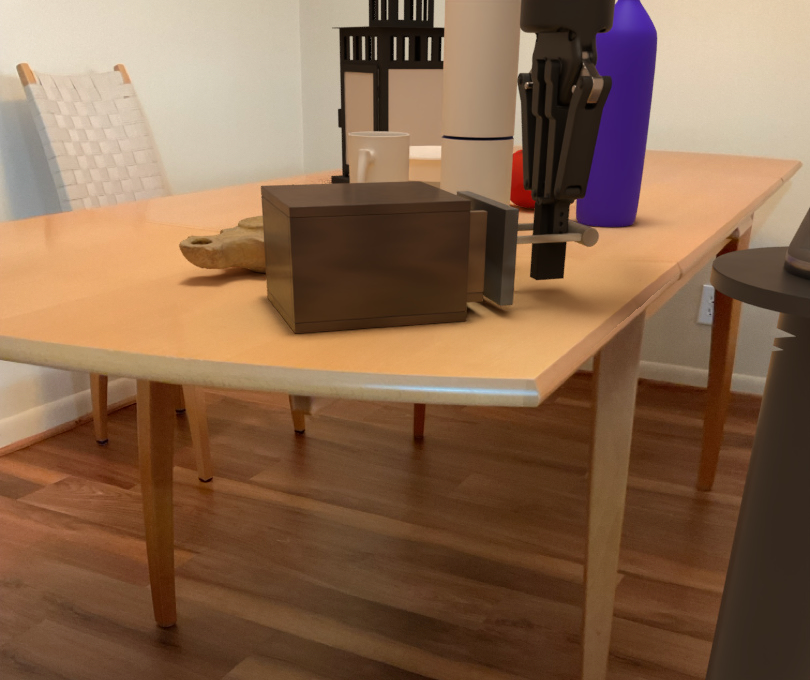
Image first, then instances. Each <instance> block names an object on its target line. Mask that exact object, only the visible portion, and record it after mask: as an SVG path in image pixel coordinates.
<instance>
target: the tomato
mask: <svg viewBox="0 0 810 680" xmlns="http://www.w3.org/2000/svg"><path fill="white" fill-rule="evenodd" d="M535 202H536V201H534V200H533V199H532V196H531V190H525V189H524V185H523V155H522V149H518V150H516V151H515V152H513V161H512V177H511V194H510V203H512V204H514V205H515V206H517V207H519V208H522V209H529V210H531V209H533V210H534V208H535Z"/></svg>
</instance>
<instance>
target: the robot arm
mask: <svg viewBox="0 0 810 680" xmlns="http://www.w3.org/2000/svg"><path fill="white" fill-rule="evenodd" d="M615 4H616V0H521V12H520V28H521V29H520V31H521V32H523V33H527V34H535V37H536V38H535V42H534V47H533V52H532V57H531V68H530V70H529V71H528V72H519V73H518V78H517V90H518V95H519V100H520V117H521V118H520V120H521V150H522V155H523V185H524V189H525V190H531V196H532V199H533V200H534V201H536V202H535V208H533V222H532V223H533V230H532V235H548V234H567V232H568V220H570V219H569V218H570V207H571V205H572V204H574V203H575V202H576V200H577V199H583V198H584V197H585V194H586V189H587V185H588V180H589V175H590V170H591V165H592V160H593V156H594V151H595V146H596V141H597V136H598V131H599V126H600V122H601V117H602V112H603V108H604V105H605V103H606V100H607V98H608V95H609V93H610V90H611V87H612V79H611V77H610V76H600V75H599V73H598V71H597V69H596V64H597V48H596V34H597V33H607V32H609V31H610V30H611V28H612V26H613V19H614V9H615ZM567 244H568V242H552V243H532V244H531V253H530V268H529V269H530V271H529V278H531V279H533V280H535V281H546V280H547V281H548V280H561V279H563V280H564V278H565V267H566V266H565V265H566V256H567V255H566V254H567ZM788 246H789V248H788V250H787V252H786V257H785V262H784V269H785V270H786V271H787V272H789V273H791V274H793V275H795V276H798V277H801V278H805V279H808V280H810V207H808V210H807V211H806V213H805V215H804V217H803V219H802V221H801V223H800V224H799V226H798V228H797V230H796V232H795V234H794V236H793V237H792V239H791V240H790V243H789V245H788Z"/></svg>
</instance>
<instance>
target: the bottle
mask: <svg viewBox="0 0 810 680" xmlns="http://www.w3.org/2000/svg"><path fill="white" fill-rule="evenodd" d="M596 48H597V64H596V69H597V71H598V73H599V75H600V76H610V77H611V79H612V87H611V90H610V93H609V95H608V98H607V100H606V103H605V105H604V108H603V112H602V117H601V122H600V126H599V131H598V136H597V141H596V146H595V151H594V156H593V160H592V165H591V170H590V175H589V180H588V185H587V189H586V194H585V197H584V198H583V199H576V200H575V220H576V222H577V223H580V224H583V225H586V226H589V227H602V228H622V227H623V228H624V227H630V226H632V225H634V223H635V222H636V220H637V219H636V218H637V215H638V209H639V203H640V196H641V189H642V181H643V173H644V167H645V159H646V150H647V143H648V135H649V127H650V118H651V111H652V110H651V109H652V102H653V93H654V85H655V84H654V83H655V74H656V65H657V64H656V63H657V52H658V31H657V29H656V26H655V24H654V22H653V20H652V18H651V16H650V14H649V13H648V11H647V10H646V8H645V6H644V5H643V4H642V2H641V0H617V1H615V9H614V19H613V26H612V28H611V30H610V31H609V32H607V33H597V34H596Z"/></svg>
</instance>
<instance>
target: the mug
mask: <svg viewBox="0 0 810 680" xmlns="http://www.w3.org/2000/svg"><path fill="white" fill-rule="evenodd" d="M348 141H349V174H350V183H373V182H408V181H409V154H410V134H408V133H402V132H381V131H372V132H353V133H349V134H348Z"/></svg>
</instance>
